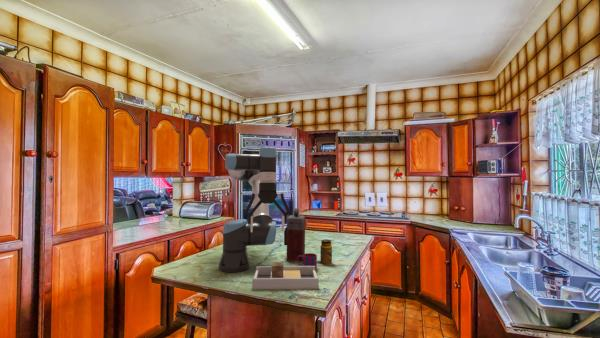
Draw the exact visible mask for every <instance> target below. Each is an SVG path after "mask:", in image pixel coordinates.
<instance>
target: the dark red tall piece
mask: <svg viewBox="0 0 600 338" xmlns="http://www.w3.org/2000/svg"><path fill="white" fill-rule="evenodd" d="M299 212H300V210H299V208H298V207H294V208H293V214H290V215H288V216H287V223H286V227H284V231H283V245H284V246H286V261H287V262H297V257H298V256H299V255H302V256H303V255H304V254H306V253H305V252H306V251H305V250H306V216H305V215H299V214H300V213H299ZM298 262H299V263H301V262H302V263H303V258H302V257H301V256H299V257H298Z"/></svg>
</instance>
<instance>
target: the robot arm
mask: <svg viewBox="0 0 600 338" xmlns="http://www.w3.org/2000/svg"><path fill="white" fill-rule="evenodd" d="M277 156H278V154H277V148H276V147H273V146H262V147H260V148H259V152H258V154H255V153H254V154H253V153H252V154H251V153H250V154H247V153H245V154H244V153H226V154H225V158H224V159H225V161H224V162H225V164H224V165H225V166H224V167H225V170H227V172H228V174H229V175H228V176H230V177H231V178H232V179H234V180H237V181H241V182H248V183H249V185H250V186H251V196H250V197H251V198H250V200H249V202H248V204H247V206H246V208H245V210H244V212H243V215H244V216H246V217H247V219H245V218H242V219H241V218H238V219H233V220H229V221H226V222H225V223H223V226H222V253H221V257H220V260H219V262H218V270H219V271H221V272H223V273H240V272H244V271H247V270H249V269H250V267H251V261H250V258H249V255H248V251H247V250H248V248H247V247H248V246H249V247H251V246H252V247H253V246H267V245H273V244H274V243H275V241H276V235H277V221H275V220H273V217H272V216H271V215H270V209H269V207H270V206H269V205H270V204H271V205H272V204H274V205H275V207H277V209H278V210H279V211H280V212H281V214H282V215H281V232H284V231H285V224H287V218H288V216H290V215H292V211H291V209H290V207H289V206H288V204H287V201H286V199H285V197H284V193H283V192H281V193H277ZM277 198H279V199H280V201H281V203H282V205H283V207H284V208H285V210H286V211H285V210H284V208H282V206H281V205H280V204H279V202H278V201H277V200H276V199H277ZM251 207H252V209H251ZM250 209H251V210H250ZM249 210H250V211H249Z"/></svg>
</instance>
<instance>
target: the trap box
mask: <svg viewBox="0 0 600 338" xmlns="http://www.w3.org/2000/svg"><path fill="white" fill-rule="evenodd" d="M255 268H256V269H255V273H254V276H253V278H252V279H251V281H252V282H251V283H252V284H251V285H252V287H251V289H252V290H287V289H288V290H296V289H297V290H298V289H299V290H301V289H302V290H303V289H304V290H305V289H306V290H308V289H309V290H310V289H319V288H320V287H319V282H320V281H319V279H320V278H319V277H318V276H317V272H316V270H315V266H300V265H284V270H283V278H272V265H264V266H263V265H259V266H256V267H255Z"/></svg>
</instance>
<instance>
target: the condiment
mask: <svg viewBox="0 0 600 338" xmlns="http://www.w3.org/2000/svg"><path fill="white" fill-rule="evenodd" d="M320 241H321V245H320V260H317V266H319V267H320V266H321V267H322V266H334V265H335V263H333V261H332V260H333V246H332V241H331V240H330V239H322V240H320Z"/></svg>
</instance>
